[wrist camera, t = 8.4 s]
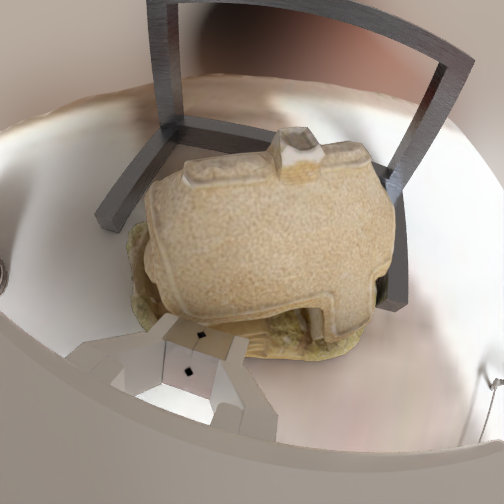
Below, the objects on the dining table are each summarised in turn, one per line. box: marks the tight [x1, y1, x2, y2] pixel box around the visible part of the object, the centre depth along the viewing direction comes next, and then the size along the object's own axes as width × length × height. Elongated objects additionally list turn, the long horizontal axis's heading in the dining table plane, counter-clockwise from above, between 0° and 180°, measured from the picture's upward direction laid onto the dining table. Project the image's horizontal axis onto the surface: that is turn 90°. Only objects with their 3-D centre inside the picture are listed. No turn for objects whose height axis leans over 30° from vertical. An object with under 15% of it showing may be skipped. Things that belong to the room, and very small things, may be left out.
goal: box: [94, 0, 475, 312], centre depth 13 cm, size 20×11×14 cm, turn 74°
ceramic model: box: [126, 127, 396, 361], centre depth 12 cm, size 14×11×10 cm
